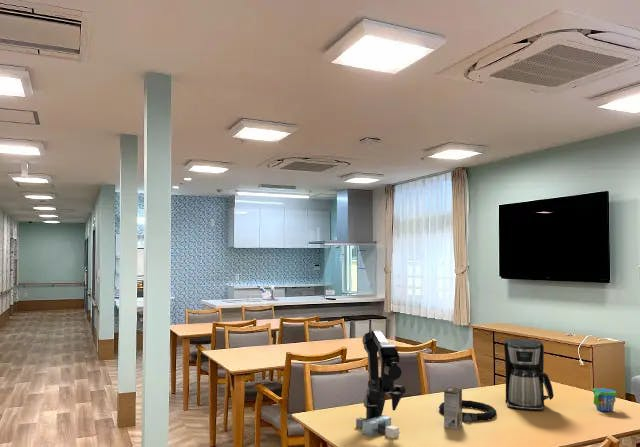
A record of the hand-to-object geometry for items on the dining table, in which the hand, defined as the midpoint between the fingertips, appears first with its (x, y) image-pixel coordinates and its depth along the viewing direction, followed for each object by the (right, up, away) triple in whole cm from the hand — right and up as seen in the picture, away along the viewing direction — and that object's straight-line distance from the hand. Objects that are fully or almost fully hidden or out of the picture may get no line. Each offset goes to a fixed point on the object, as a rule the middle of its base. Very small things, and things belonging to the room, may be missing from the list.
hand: (387, 412), depth 230 cm
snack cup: (+118, -15, +46) cm, 127 cm away
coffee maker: (+83, -15, +55) cm, 100 cm away
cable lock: (+44, -13, +34) cm, 57 cm away
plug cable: (-4, -10, +3) cm, 11 cm away
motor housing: (-4, -10, +4) cm, 11 cm away
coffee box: (+32, -11, +14) cm, 36 cm away
